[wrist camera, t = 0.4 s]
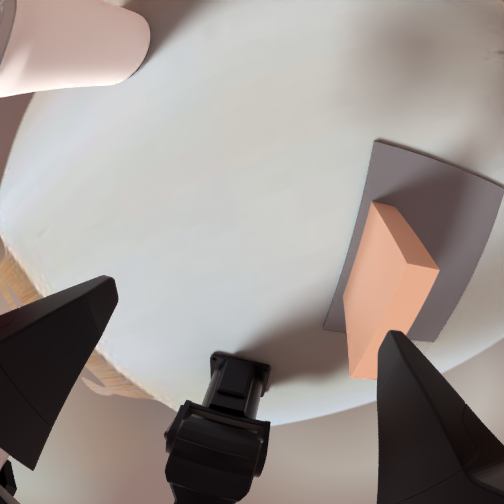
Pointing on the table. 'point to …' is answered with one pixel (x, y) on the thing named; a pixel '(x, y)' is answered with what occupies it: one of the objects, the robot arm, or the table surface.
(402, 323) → the tile
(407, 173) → the mat
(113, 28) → the can
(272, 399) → the table surface
